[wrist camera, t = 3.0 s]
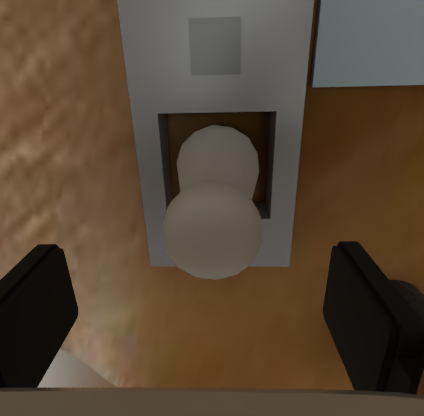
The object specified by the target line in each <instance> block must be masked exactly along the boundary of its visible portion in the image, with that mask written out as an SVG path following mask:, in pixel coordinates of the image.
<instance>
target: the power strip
mask: <svg viewBox="0 0 424 416" xmlns="http://www.w3.org/2000/svg"><path fill="white" fill-rule="evenodd" d="M117 5H118V13H119V21H120V28H121V36H122V44H123V52H124V60H125V68H126V76H127V84H128V91H129V99H130V107H131V115H132V123H133V131H134V139H135V146H136V154H137V162H138V170H139V178H140V186H141V194H142V202H143V209H144V217H145V225H146V233H147V241H148V249H149V257H150V265H151V266H177V265H176V264H175V263H174V262H173V261H172V259H171V258H170V257H169V256H168V254H167V253H166V251H165V245H164V240H163V235H162V225H163V222H164V219H165V215H166V212H167V209H168V206H169V204H170V202H171V201H172V200H173V191H172V179H171V167H170V155H169V142H168V130H167V118H166V113H212V112H261V111H270V124H269V144H268V164H267V184H266V203H254V205H255V206H256V208H257V210H258V211H259V214H260V216H261V227H262V243H261V246H260V248H259V250H258V252H257V254H256V256H255V258H254V260H253V262H252V263H251V264H250V265H248V266H247V267H289V265H290V255H291V244H292V233H293V222H294V211H295V201H296V190H297V179H298V168H299V157H300V147H301V136H302V125H303V114H304V103H305V93H306V82H307V71H308V60H309V50H310V39H311V28H312V17H313V6H314V0H117Z"/></svg>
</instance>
